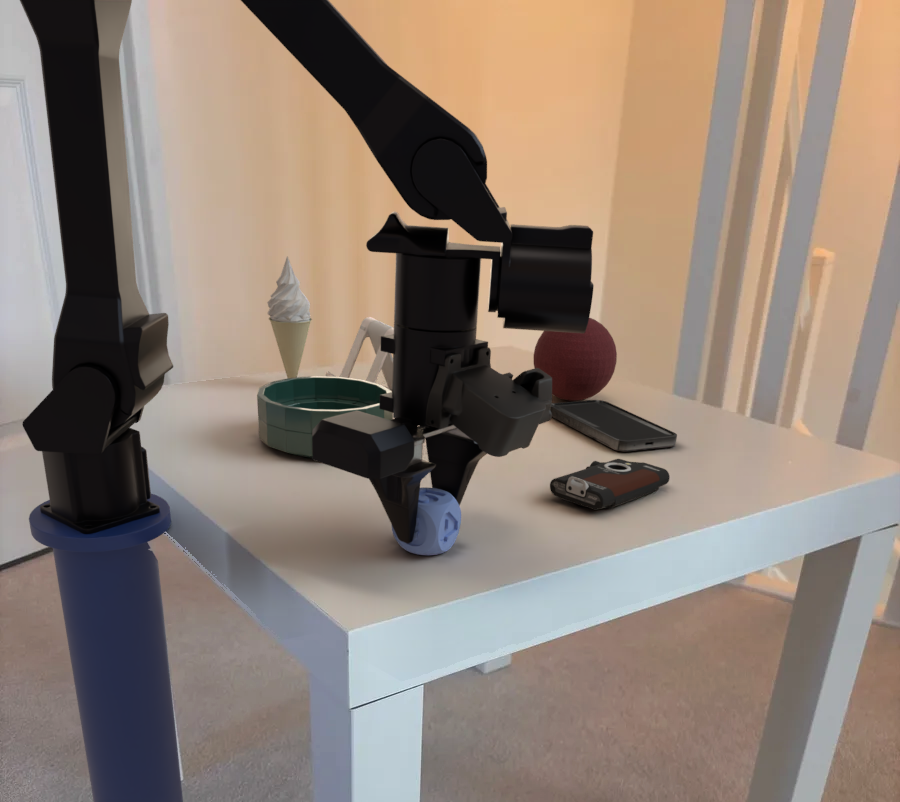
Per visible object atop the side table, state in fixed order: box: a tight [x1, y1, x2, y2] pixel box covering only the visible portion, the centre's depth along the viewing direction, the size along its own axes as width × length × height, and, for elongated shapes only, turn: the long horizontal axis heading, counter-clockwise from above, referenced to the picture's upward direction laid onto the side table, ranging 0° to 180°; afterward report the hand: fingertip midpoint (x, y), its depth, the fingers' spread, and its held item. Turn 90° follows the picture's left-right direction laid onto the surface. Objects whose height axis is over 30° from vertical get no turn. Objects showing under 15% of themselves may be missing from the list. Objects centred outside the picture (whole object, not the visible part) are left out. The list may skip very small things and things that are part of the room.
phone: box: [550, 399, 678, 453], centre depth 101 cm, size 8×1×15 cm
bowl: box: [256, 375, 394, 459], centre depth 91 cm, size 13×13×5 cm
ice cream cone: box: [266, 256, 313, 379], centre depth 107 cm, size 5×5×15 cm
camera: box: [549, 458, 671, 511], centre depth 83 cm, size 6×3×11 cm
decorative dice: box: [390, 486, 462, 556], centre depth 69 cm, size 4×4×4 cm
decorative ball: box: [533, 317, 618, 402], centre depth 110 cm, size 10×10×10 cm
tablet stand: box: [325, 316, 394, 391], centre depth 107 cm, size 9×8×8 cm
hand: (425, 533), depth 70 cm, fingers closed on decorative dice, 4 cm apart
